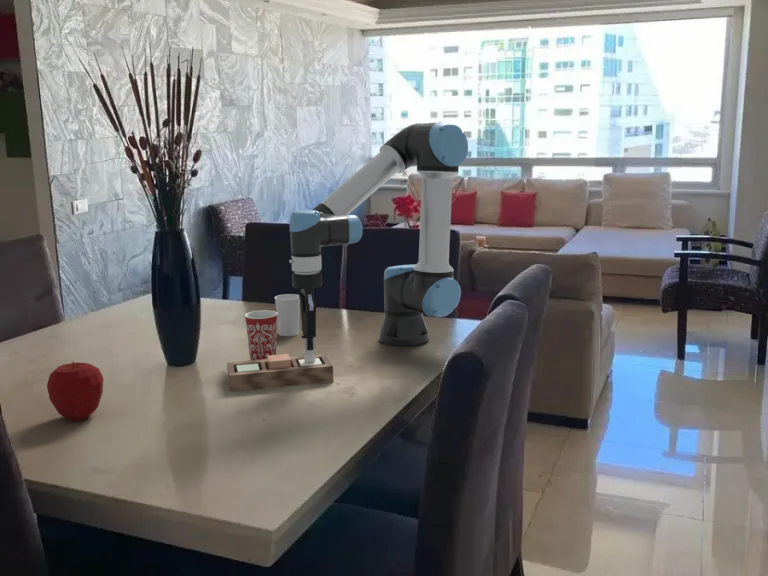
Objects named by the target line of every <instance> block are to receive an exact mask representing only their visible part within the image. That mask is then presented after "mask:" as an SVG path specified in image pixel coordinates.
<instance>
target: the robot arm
mask: <svg viewBox="0 0 768 576" xmlns="http://www.w3.org/2000/svg"><path fill="white" fill-rule="evenodd" d="M468 152H469V143H468V137H467V136H466V134H465V132H464V131H463V130H462V128H461V127H459V126H458V125H457V124H454V123H451V122H444V121H440V122H439V121H437V122H427V123H423V122H421V123H420V122H419V123H414V124H411V125H408V126H406V127H404V128H403V129H402V130H400V131H398V132H397V133H396V134H394V135H393V136H392V137H391V138H389V139H388V140H387V141H386V142H385V143H383V144H382V145H381V146H380V147H379V152H378V153H377V154H376V155H375V156H373V157H372V158H371V159H370V160H368V162H367V163H365V164H364V165H363V166H362V167H361V168H360V169H358V170H357V171H356V172H355V173H354V174H352V175H351V176H350V177H349V178H348V179H347V180H346V181H345V182H343V183H342V184H341V185H340V186H339V187H337V188H336V189H335V190H334V191H333V192H332V193H330V194H329V195H328V196H326V197H325V198H324V199H323V200H322V201H320V203H318V204H317V205H316V206H315V207H314V208H312V209H304V210H303V209H301V210H294V211H292V212H291V213H290V218H289V233H290V235H289V236H290V253H291V259H289V260H288V261H289V262H288V263H290V264H291V271H292V272H293V273H292V274H291V284H292V288H294V289H296V290H297V289H298V290H300V292H301V293H299V294H298V295H299V299H300V317H301V331H302V334H303V335H301V338H302V339H303V356H304V361H305V362H313V361H315V355H316V336H317V330H316V329H317V306H318V305H317V294H316V293H315V291H314V290H315V289H319V288H321V287H322V285H323V275H322V272H321V271H322V269H323V268H322V266H323V265H322V248H323V247H324V248H326V247H331V246H343V245H346V246H348V245H350V244H355V243H356V244H357V243H358V242H359V241H361V239H362V237H363V233H364V231H363V223H362V221H361V219H360V218H359V217H358V215H355V214H351V212H353V211H354V210H356V209H357V208H358V207H359V206H361V204H362V203H364V202H365V201H366V200H367V199H368V198H369V197H370V196H371V195H373V194H374V193H375V192H376V191H377V190H378V189H380V188H381V187H382V186H383V185H385V183H386V182H387V181H389V180H391V178H392V177H394V176H395V175H396V174H402V173H404V172H405V171H406V170H408V169H409V168H411V167H414V166H416V172H417V174H418V175H420V177H421V191H420V192H421V193H420V194H421V195H420V217H419V218H420V221H419V224H420V225H419V243H418V244H419V245H418V262H417V263H416V264H402V265H393V266H388V267H387V268H385V270H384V273H383V290H384V291H383V293H384V294H383V295H384V296H383V297H384V298H383V300H384V302H383V304H384V305H383V306H384V316H383V318H382V319H383V320H382V323H381V325H380V330H379V332H378V333H379V334H378V335H379V336H378V337H379V338H378V339H379V342H380V343H382V344H385V345H388V346H396V347H411V346H419V345H422V344H426V343H427V342H428V341H429V339H430V338H429V337H430V336H429V333H430V332H429V330H428V327H427V324H426V320H425V318H424V314H425V315H426V316H429V317H436V318H443V317H446V316H448V315H450V314H451V313H453V311H454V310H455V309H456V308H457V307H458V305H459V303H460V300H461V296H462V289H461V288H462V287H461V286H460V284H459V283H458V281H457V280H456V279H455V278H454V271H455V270H454V268H453V266H451V265H450V262H449V261H450V241H451V223H452V222H451V218H452V199H453V198H452V197H453V181H454V180H453V179H454V177H455V176H457V175H458V174H459V166H460V165H461V164H462V163H464V161H465V159H466V158H467V156H468Z"/></svg>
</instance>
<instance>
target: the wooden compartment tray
mask: <svg viewBox="0 0 768 576" xmlns="http://www.w3.org/2000/svg"><path fill="white" fill-rule="evenodd" d="M289 357H290V359H291V367H290V368H279V369H268V359H263V360H252V361H250V360H241V361H231V362H226V370H227V371H226V372H227V382H228V389H229V392H231V393H233V392H240V391H241V392H242V391H251V390H252V391H253V390H262V389H263V390H264V389H273V388H274V389H275V388H283V387H292V386H305V385H314V384H323V383H324V384H325V383H333V382H334V366H333V364H332V362H331V360H330V359H329V357H328V356H327V354H326V353H323V354H320V353H319V354H315V358H319V359H320V361H321V363H322V365H312V366H301V367H299V364H298V360H301V359H304V355H299V356H298V355H297V356H289ZM247 364H258V366H259V370H257V371H246V372H237V365H247Z"/></svg>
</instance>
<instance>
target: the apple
mask: <svg viewBox="0 0 768 576" xmlns="http://www.w3.org/2000/svg"><path fill="white" fill-rule="evenodd" d="M47 380H48V381H47V384H46V388H47V394H48V398H49V401H50V403H51V404H52V405H53V407H54V409H55V410H56V411H57V413H58V414H59V415H60V416H61V417H63V418H65V419H66V420H68V421H70V422H79V421H83V420H85V419H87V418H89V417H90V416H91V415H92V414H93V413H95V411H96V410H97V409H98V408H99V405H100V402H101V399H102V395H103V389H104V376H103V374H102V372H101V370H100V369H99V367H97V366H95V365H93V364H91V363H88V362H74V361H72V362H71V363H66V364H62V365H59V366H57V367H56V368H55V369H54V370H53V371H52V372H51V373H50V374H49V377H48V379H47Z"/></svg>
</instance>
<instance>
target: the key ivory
mask: <svg viewBox="0 0 768 576" xmlns="http://www.w3.org/2000/svg"><path fill="white" fill-rule="evenodd" d="M298 364H299V367H301V366H312V365H322V363H321V361H320V359H319V358H315V361H313V362H305V361H304V359H301V360H298Z"/></svg>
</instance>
